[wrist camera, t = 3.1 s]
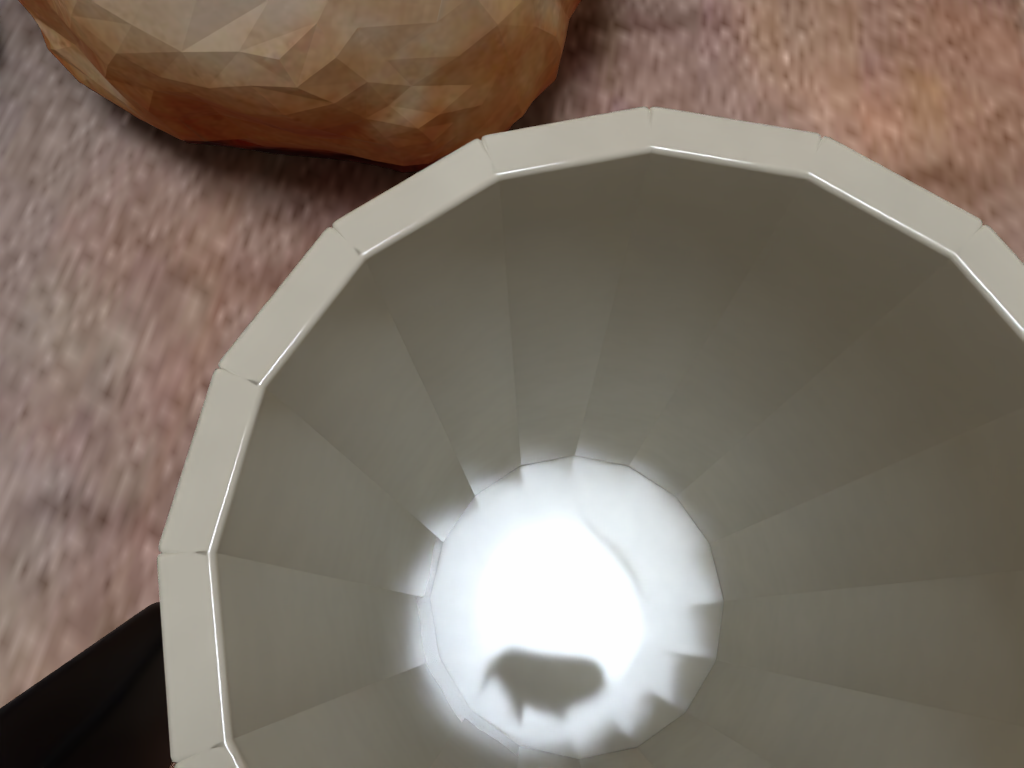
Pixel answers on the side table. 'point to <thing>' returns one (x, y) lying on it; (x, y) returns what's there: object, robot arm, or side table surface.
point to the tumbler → (614, 471)
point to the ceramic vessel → (315, 69)
